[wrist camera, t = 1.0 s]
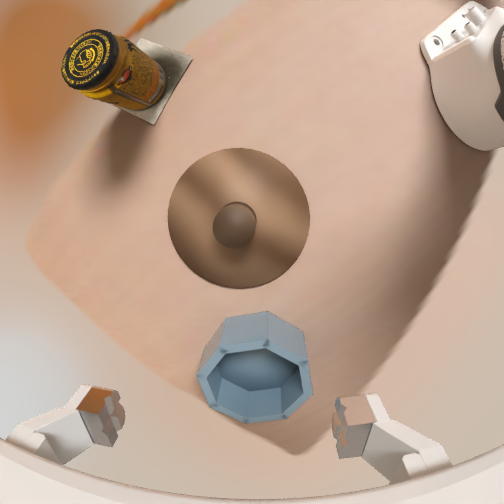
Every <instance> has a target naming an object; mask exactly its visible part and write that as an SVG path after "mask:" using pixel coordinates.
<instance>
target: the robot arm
mask: <svg viewBox="0 0 504 504" xmlns="http://www.w3.org/2000/svg"><path fill="white" fill-rule="evenodd" d="M434 41H435V42H436V44H437V45H436V44H435V43H434ZM420 47H421V50H422V53H423V55H424V57H425V59H426V61H427V63H428V65H429V68H430V74H431V84H432V89H433V94H434V97H435V100H436V103H437V106H438V108H439V110H440V112H441V114H442V116H443V118H444V120H445V121H446V123H447V124H448V126H449V127H450V129H451V130H452V131H453V132H454V133H455V135H456V136H457V137H458V138H459V139H461V140H462V141H463V142H464V143H466V144H467V145H469V146H471V147H473V148H475V149H478V150H482V151H489V150H494V149H496V148H500V147H504V9H503V8H500V7H493V8H491V9H489V10H488V9H487V8H486V7H484V6H482V5H481V4H479V3H477V2H475V1H469V2H467V3H465V4H464V5H463V6H462V7H460V8H459V9H458V10H457V11H456V12H454V13H453V14H452V15H451V16H450V17H448V18H447V19H446V20H445V21H444V22H442V23H441V24H440V25H439V26H438V27H437V28H435V29H434V30H433V31H432V32H431V33H430V34H428V35H427V36H426V37H425V38H424V39H423V40H422V41H421V43H420ZM119 400H120V396H119V393H118V392H117V391H116V390H112V389H107V388H102V387H97V386H91V385H87V384H83V385H81V386H80V388H79V389H78V390H77V391H76V393H75V394H74V395H73V396H72V398H71V399H70V400H69V402H68V403H67V404H66V406H65V407H64V406H61V407H58V408H56V409H54V410H51V411H49V412H46V413H44V414H42V415H40V416H37V417H35V418H32V419H30V420H27V421H25V422H22V423H20V424H18V426H16V428H15V429H14V430H13V431H12V433H11V434H10V435H9V436H8V437H7V439H6V440H4V439H2V438H0V504H504V444H503V445H501V446H499V447H497V448H494V449H492V450H490V451H488V452H486V453H483V454H481V455H479V456H476V457H474V458H472V459H469V460H467V461H464V462H462V463H459V464H456V465H454V466H453V465H452V463H451V462H450V460H449V458H448V456H447V454H446V453H445V451H444V449H443V448H442V446H441V444H439V443H437V442H435V441H433V440H431V439H429V438H427V437H425V436H424V435H422V434H420V433H418V432H416V431H414V430H412V429H411V428H409V427H407V426H405V425H403V424H402V423H400V422H398V421H396V420H391V419H390V417H389V415H388V413H387V411H386V409H385V407H384V405H383V403H382V401H381V399H380V397H379V395H378V394H377V393H370V394H363V395H357V396H348V397H338V398H337V399H336V403H335V407H336V412H335V413H334V414H333V419H332V430H333V435H334V438H336V439H337V444H336V447H337V451H338V455H339V459H341V458H350V457H358V456H362V458H363V459H365V460H366V461H367V462H368V463H369V464H370V465H371V466H373V467H374V468H375V469H376V470H377V471H378V472H380V473H381V474H382V475H383V476H385V477H386V478H387V479H388V480H389V481H390V483H389V485H385V486H381V487H376V488H372V489H366V490H360V491H355V492H349V493H342V494H334V495H326V496H318V497H306V498H293V499H226V498H212V497H200V496H191V495H183V494H176V493H169V492H163V491H157V490H152V489H146V488H141V487H137V486H132V485H128V484H123V483H119V482H115V481H111V480H108V479H104V478H100V477H97V476H94V475H90V474H87V473H84V472H80V471H78V470H75V469H72V468H69V467H66V466H63V465H64V464H66V463H67V462H68V461H70V460H72V459H73V458H74V457H76V456H77V455H79V454H80V453H82V452H83V451H85V450H86V449H88V448H89V447H91V446H92V445H93V443H95V444H99V445H103V446H108V447H113V445H114V443H115V441H116V439H117V437H118V435H117V431H118V430H120V429H122V427H123V425H124V421H125V411H124V408H123V406H122V405H121V404H120V403H119Z"/></svg>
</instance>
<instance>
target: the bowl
mask: <svg viewBox="0 0 504 504" xmlns="http://www.w3.org/2000/svg"><path fill="white" fill-rule="evenodd" d="M196 376H197V378H198V381H199V383H200V385H201V388H202V390H203V393H204V395H205V398H206V400H207V402H208V405H209V407H211V408H213V409H215V410H217V411H219V412H221V413H223V414H225V415H228V416H230V417H232V418H234V419H236V420H239V421H241V422H243V423H245V424H246V423H256V422H265V421H273V420H281V419H287V418H288V417H289V416H290V415H291V414H292V413H293V412H294V411H295V410H297V409H298V408H299V407H300V406H301V405H302V404H303V403H304V402H305V401H306V400H307V399H308V398H309V397H310V396H311V395H313V390H312V384H311V378H310V372H309V365H308V356H307V351H306V345H305V340H304V335H303V331H301V330H299V329H298V328H296V327H294V326H292V325H291V324H289V323H287V322H286V321H284V320H282V319H280V318H279V317H277V316H275V315H274V314H272V313H270V312H269V311H266V312H261V313H255V314H249V315H242V316H236V317H230V318H226V319H225V320H224V322H223V323H222V325H221V326H220V327H219V329H218V330H217V331H216V333H215V334H214V336H213V337H212V338H211V340H210V341H209V343H208V344H207V345H206V347H205V350H204V353H203V356H202V359H201V362H200V366H199V369H198V372H197V375H196Z"/></svg>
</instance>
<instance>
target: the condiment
mask: <svg viewBox="0 0 504 504" xmlns="http://www.w3.org/2000/svg"><path fill="white" fill-rule="evenodd" d="M192 58H193V57H191V56H188V55H185V54H183V53H180V52H178V51H175V50H172V49H170V48H167V47H164V46H161V45H159V44H156V43H153V42H150V41H147V40H145V39H140V40H139V42H138V43H137V45H136V46H135V45H134V44H133V43H132V42H130V41H129V40H128V39H126V38H124V37H122V36H117V35H113V34H112V33H111V32H108V31H105V30H100V29H97V30H91V31H88V32H86V33H84V34H82V35H81V36H80V37H78V38H77V39H76V40H75V41H74V42H73V43H72V44H71V46H70V47H69V48H68V50H67V51H66V54H65V56H64V58H63V63H62V69H61V71H62V76H63V78H64V80H65V82H66V83H67V84H68V85H69V86H70V87H72V88H74V89H77V90H80V91H81V92H82V93H83V94H84V95H85V96H87V97H89V98H92V99H97V100H100V101H103V102H106V103H109V104H111V105H113V106H115V107H118V108H120V109H122V110H124V111H126V112H128V113H131V114H133V115H135V116H137V117H139V118H141V119H143V120H145V121H147V122H149V123H151V124H153V125H154V124H155V122H156V120H157V119H158V117H159V115H160V113H161V111H162V110H163V108H164V106H165V104H166V103H167V101H168V99H169V97H170V95H171V94H172V92H173V90H174V88H175V86H176V84H177V83H178V81H179V80H180V78H181V76H182V75H183V73H184V71H185V70H186V68H187V66H188V64H189V63H190V61H191V60H192ZM169 77H170V78H169Z"/></svg>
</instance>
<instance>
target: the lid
mask: <svg viewBox="0 0 504 504" xmlns="http://www.w3.org/2000/svg"><path fill="white" fill-rule="evenodd" d="M168 226H169V231H170V236H171V239H172V242H173V244H174V246H175V248H176V250H177V252H178V254H179V255H180V257H181V258H182V260H183V261H184V262H185V263H186V264H187V265H188V266H189V267H190V268H191V269H192V270H193V271H194V272H195V273H197V274H198V275H200V276H201V277H203V278H204V279H206V280H208V281H210V282H213V283H215V284H218V285H222V286H226V287H233V288H246V287H254V286H258V285H262V284H264V283H267V282H269V281H271V280H273V279H275V278H277V277H278V276H280V275H281V274H283V273H284V272H285V271H286V270H287V269H289V268H290V267H291V266H292V264H293V263H294V262H295V261H296V260H297V258H298V257H299V255H300V253H301V252H302V250H303V248H304V245H305V243H306V240H307V236H308V232H309V226H310V213H309V206H308V202H307V198H306V195H305V193H304V190H303V188H302V186H301V184H300V183H299V181H298V180H297V178H296V177H295V176H294V174H293V173H292V172H291V171H290V170H289V169H288V168H287V167H286V166H285V165H284V164H282V163H281V162H280V161H278V160H277V159H275V158H273V157H271V156H270V155H267V154H265V153H262V152H260V151H256V150H252V149H244V148H230V149H224V150H220V151H217V152H213V153H211V154H209V155H206V156H204V157H203V158H201V159H199V160H198V161H196V162H195V163H194V164H193V165H191V166H190V167H189V168H188V169H187V170H186V171H185V173H184V174H183V175H182V176H181V178H180V179H179V181H178V182H177V184H176V186H175V188H174V190H173V193H172V195H171V198H170V203H169V208H168Z"/></svg>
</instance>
